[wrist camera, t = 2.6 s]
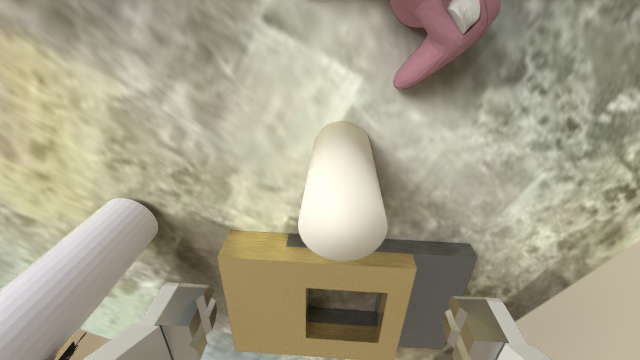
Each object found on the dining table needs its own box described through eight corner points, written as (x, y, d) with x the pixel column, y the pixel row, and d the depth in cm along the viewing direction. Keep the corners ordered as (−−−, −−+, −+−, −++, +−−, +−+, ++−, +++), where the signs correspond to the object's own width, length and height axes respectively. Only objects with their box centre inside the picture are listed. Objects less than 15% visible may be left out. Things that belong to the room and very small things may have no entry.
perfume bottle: (87, 205, 25) (-474, 637, 8) (131, 174, 23) (-467, 643, 6) (139, 250, 27) (-207, 665, 10) (184, 225, 26) (-144, 676, 8)
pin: (373, 122, 20) (393, 192, 12) (367, 174, 22) (381, 263, 14) (313, 120, 20) (297, 187, 13) (313, 172, 22) (298, 258, 15)
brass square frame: (469, 243, 25) (485, 273, 22) (438, 334, 31) (447, 366, 28) (230, 230, 26) (217, 257, 23) (244, 320, 32) (235, 350, 29)
